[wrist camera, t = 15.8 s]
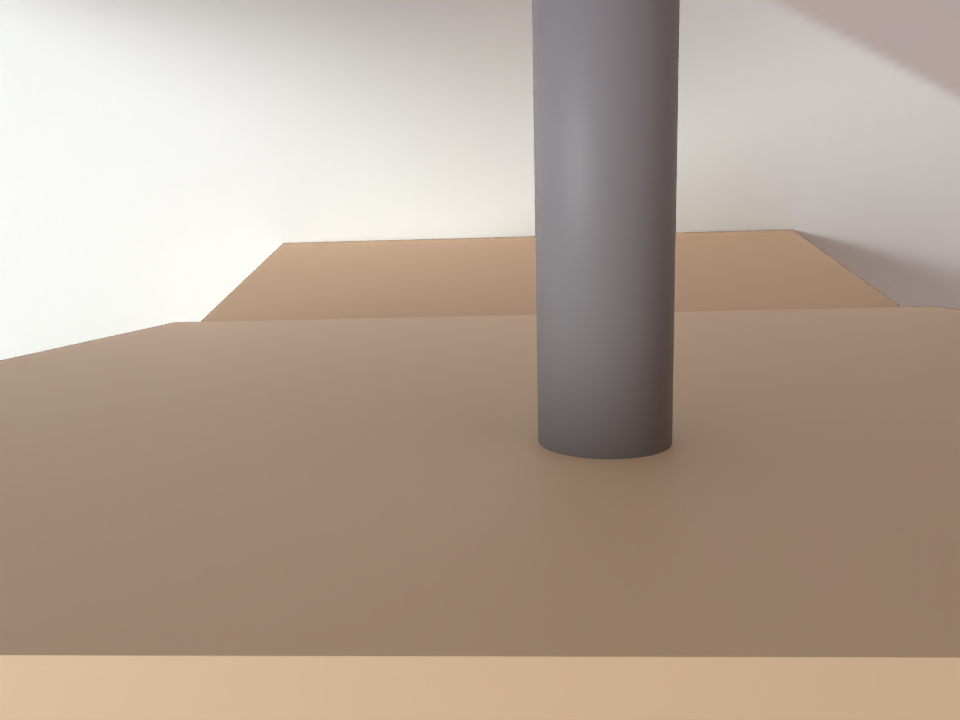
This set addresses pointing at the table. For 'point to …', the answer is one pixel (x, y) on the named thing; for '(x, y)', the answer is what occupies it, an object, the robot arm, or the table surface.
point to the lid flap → (499, 481)
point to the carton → (528, 278)
